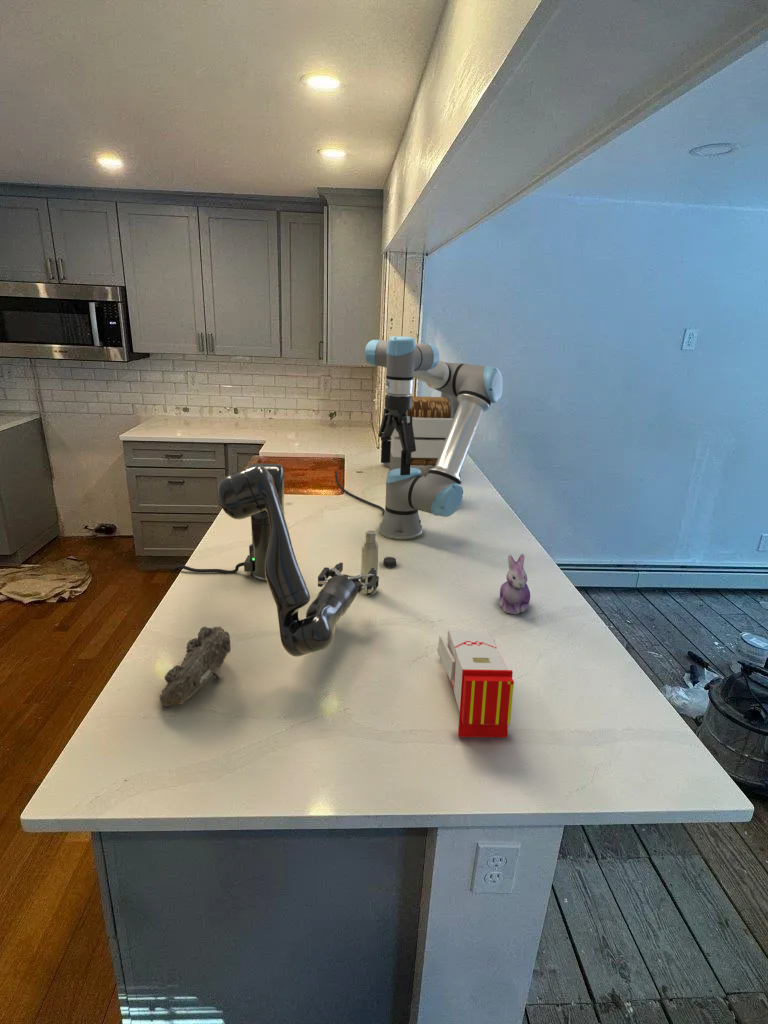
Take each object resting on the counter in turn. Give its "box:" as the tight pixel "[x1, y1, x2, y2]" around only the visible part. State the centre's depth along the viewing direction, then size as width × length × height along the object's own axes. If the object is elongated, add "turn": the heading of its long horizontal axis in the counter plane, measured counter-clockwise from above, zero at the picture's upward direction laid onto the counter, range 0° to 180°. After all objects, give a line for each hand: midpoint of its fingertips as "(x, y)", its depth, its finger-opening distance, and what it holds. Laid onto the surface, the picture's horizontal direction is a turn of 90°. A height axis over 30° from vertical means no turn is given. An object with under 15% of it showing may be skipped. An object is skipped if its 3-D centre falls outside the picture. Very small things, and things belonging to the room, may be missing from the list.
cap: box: [382, 556, 397, 569], centre depth 175 cm, size 4×4×2 cm
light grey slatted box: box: [382, 392, 462, 478], centre depth 268 cm, size 34×33×41 cm
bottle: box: [360, 530, 379, 596], centre depth 156 cm, size 4×4×18 cm
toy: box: [437, 628, 515, 738], centre depth 117 cm, size 12×13×30 cm
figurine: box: [498, 553, 531, 615], centre depth 151 cm, size 9×10×15 cm
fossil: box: [159, 626, 232, 707], centre depth 118 cm, size 22×10×15 cm
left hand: (357, 568), depth 145 cm, fingers open, 8 cm apart
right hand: (394, 468), depth 165 cm, fingers open, 13 cm apart
